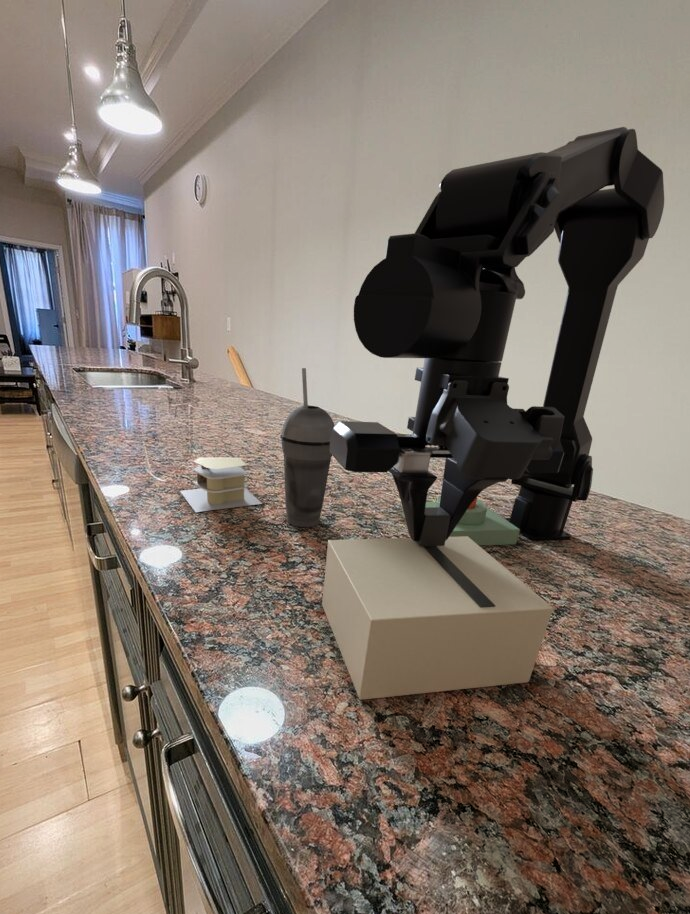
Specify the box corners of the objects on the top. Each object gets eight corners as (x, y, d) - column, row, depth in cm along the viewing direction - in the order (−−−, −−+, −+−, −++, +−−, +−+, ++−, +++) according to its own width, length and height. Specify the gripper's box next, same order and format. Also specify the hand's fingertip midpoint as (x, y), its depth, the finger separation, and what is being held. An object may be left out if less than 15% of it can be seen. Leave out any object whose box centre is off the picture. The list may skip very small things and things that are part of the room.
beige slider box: (451, 594, 46) (465, 532, 44) (529, 682, 35) (554, 606, 32) (320, 601, 43) (326, 536, 41) (359, 700, 32) (371, 618, 29)
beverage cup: (324, 535, 58) (339, 373, 50) (270, 527, 59) (276, 368, 51) (332, 514, 64) (346, 369, 56) (283, 507, 65) (291, 364, 58)
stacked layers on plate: (241, 484, 73) (241, 452, 71) (262, 504, 66) (263, 468, 64) (179, 491, 69) (178, 456, 66) (195, 512, 61) (194, 474, 59)
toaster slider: (434, 536, 42) (440, 506, 41) (444, 546, 40) (451, 515, 39) (410, 537, 41) (416, 507, 40) (420, 546, 40) (425, 515, 38)
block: (475, 514, 68) (481, 489, 66) (516, 544, 59) (523, 516, 57) (401, 515, 65) (405, 490, 64) (432, 547, 56) (438, 518, 55)
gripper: (386, 361, 26) (356, 593, 31) (653, 377, 29) (581, 581, 35) (336, 349, 36) (320, 527, 42) (540, 362, 39) (499, 523, 45)
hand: (427, 539), depth 41 cm, fingers closed on toaster slider, 2 cm apart
